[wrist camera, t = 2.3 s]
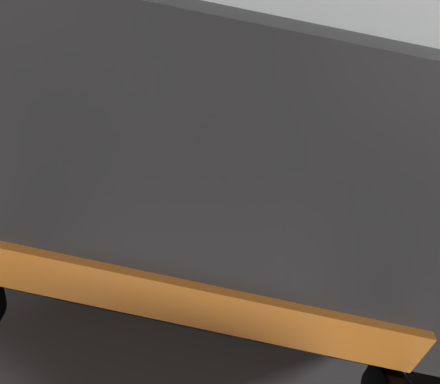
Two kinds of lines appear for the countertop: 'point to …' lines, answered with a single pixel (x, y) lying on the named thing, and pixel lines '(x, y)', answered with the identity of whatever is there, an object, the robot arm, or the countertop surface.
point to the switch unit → (360, 16)
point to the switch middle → (224, 173)
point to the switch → (143, 350)
